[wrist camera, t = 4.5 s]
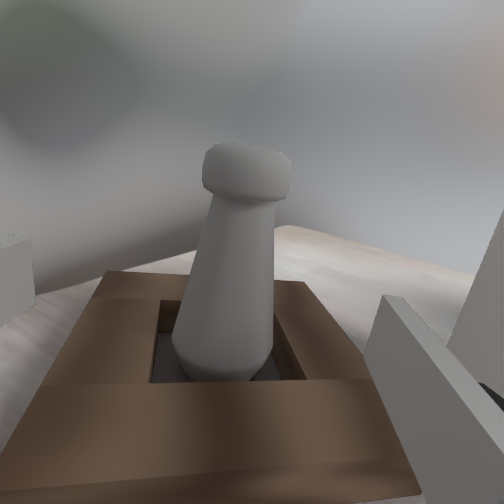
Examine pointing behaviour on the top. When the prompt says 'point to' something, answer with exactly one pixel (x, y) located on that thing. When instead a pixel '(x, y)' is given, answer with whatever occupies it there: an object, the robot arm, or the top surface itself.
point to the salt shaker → (233, 267)
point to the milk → (484, 319)
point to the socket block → (203, 415)
